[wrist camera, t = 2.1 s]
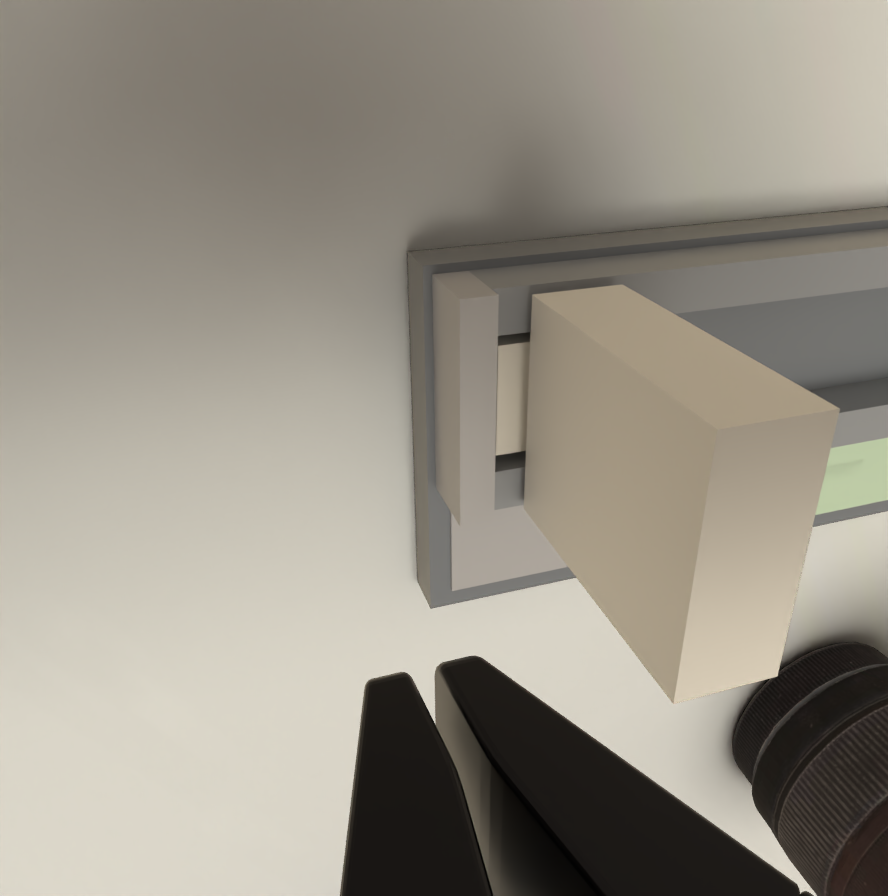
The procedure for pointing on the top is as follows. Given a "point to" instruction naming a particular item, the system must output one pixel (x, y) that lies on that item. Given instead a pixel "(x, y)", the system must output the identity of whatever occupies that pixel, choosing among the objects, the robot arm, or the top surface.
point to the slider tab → (666, 479)
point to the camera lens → (824, 766)
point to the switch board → (677, 290)
